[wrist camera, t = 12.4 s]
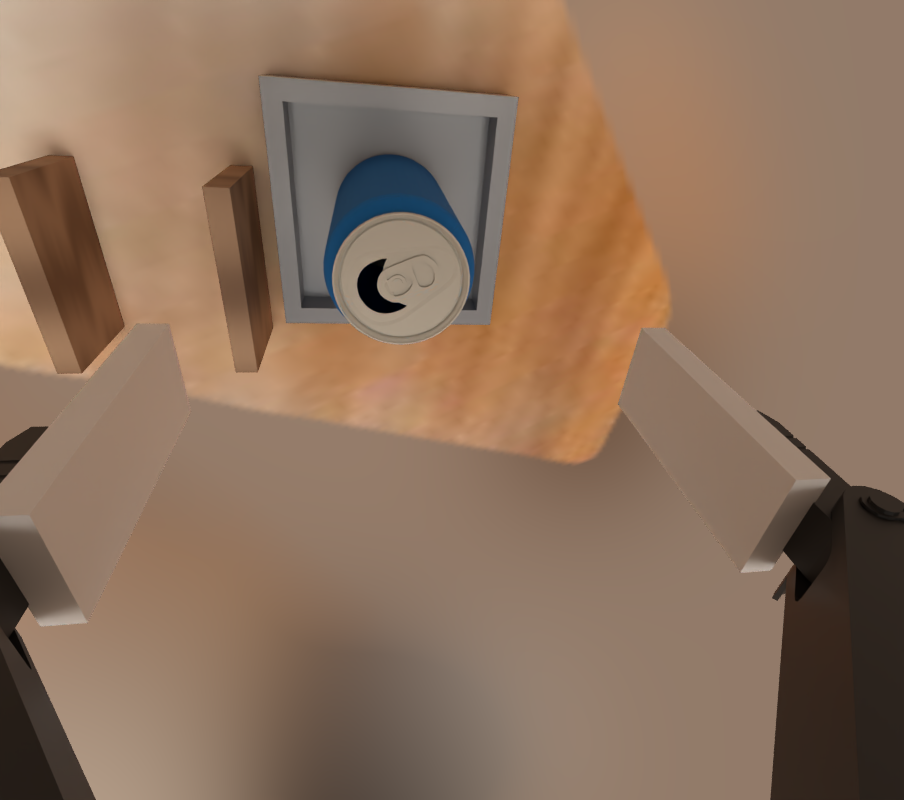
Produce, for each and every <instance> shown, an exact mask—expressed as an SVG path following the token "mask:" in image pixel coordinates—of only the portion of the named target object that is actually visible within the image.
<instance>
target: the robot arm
mask: <svg viewBox="0 0 904 800" xmlns="http://www.w3.org/2000/svg"><path fill="white" fill-rule="evenodd" d="M618 405H619V406H620V408H621V409H622V410H623V412H624V413H625V414H626V416H627V417H628V419H629V420H630V421H631V423H632V424H633V425H634V427H635V428H636V430H637V431H638V432H639V434H640V435H641V437H642V438H643V439H644V441H645V442H646V443H647V445H648V446H649V447H650V449H651V450H652V452H653V453H654V455H655V456H656V457H657V458H658V460H659V461H660V463H661V464H662V466H663V467H664V468H665V470H666V471H667V472H668V474H669V475H670V477H671V478H672V479H673V481H674V482H675V483H676V485H677V486H678V488H679V489H680V490H681V492H682V493H683V494H684V496H685V497H686V498H687V500H688V501H689V503H690V504H691V505H692V507H693V508H694V510H695V511H696V512H697V514H698V515H699V516H700V518H701V519H702V521H703V522H704V523H705V525H706V526H707V528H708V529H709V530H710V531H711V533H712V534H713V536H714V537H715V539H716V540H717V541H718V543H719V544H720V545H721V547H722V548H723V550H724V551H725V552H726V554H727V555H728V556H729V558H730V559H731V561H732V562H733V563H734V565H735V566H736V568H737V569H738V570H739V572H742V573H743V572H754V571H769V570H771V569H772V568H773V566H774V565H775V563H776V562H777V560H778V559H779V557H780V556H781V554H782V552H783V551H784V552H785V554H786V555H787V556H788V557H789V558H790V560H791V561H792V562H793V563H794V565H793V566H792V568H791V569H790V571H789V572H788V574H787V575H786V576H785V578H784V579H783V581H782V582H781V584H780V585H779V587H778V588H777V590H776V591H775V593H774V595H773V597H772V598H773V599H775V600H778V599H779V598H780V596H781V595H782V594H785V593H786V597H785V610H784V623H783V636H782V650H781V663H780V677H779V691H778V704H777V705H778V706H777V718H776V731H775V745H774V759H773V772H772V787H771V800H904V503H903V502H901V501H900V500H898V499H897V498H895V497H893V496H891V495H889V494H887V493H884V492H882V491H880V490H877V489H873V488H869V487H866V486H850V485H849V484H847V483H846V482H845V481H844V480H843V479H842V478H841V477H840V476H838V475H837V474H836V473H835V472H834V471H833V470H832V469H831V468H829V467H828V466H827V465H826V464H825V463H824V462H823V461H822V460H820V459H819V458H818V457H817V456H816V455H815V454H814V453H813V452H811V451H810V450H808V449H806V446H804V444H802V443H801V442H800V441H799V440H798V439H797V438H793V435H792V434H791V433H790V432H789V431H788V430H786V429H785V428H784V427H783V426H782V425H781V424H780V423H779V422H777V421H775V420H774V419H772V418H770V417H768V416H767V415H765V414H763V413H761V412H759V411H756V410H755V409H754V408H753V407H752V406H751V405H749V404H748V403H747V402H746V401H745V400H744V399H743V398H742V397H740V395H738V394H737V393H736V392H735V391H734V390H733V389H732V388H731V387H729V386H728V385H727V384H726V383H725V382H724V381H723V380H722V379H721V378H720V377H719V376H717V375H716V374H715V373H714V372H713V371H712V370H711V369H710V368H708V366H706V365H705V364H704V363H703V362H702V361H701V360H700V359H699V358H698V357H697V356H695V355H694V354H693V353H692V352H691V351H690V350H689V349H688V348H687V347H686V346H684V345H683V344H682V343H681V342H680V341H679V340H678V339H677V338H676V337H674V336H673V335H672V334H671V333H670V332H669V331H668V330H667V329H666V328H641V331H640V335H639V338H638V341H637V344H636V348H635V351H634V354H633V357H632V360H631V364H630V367H629V370H628V373H627V377H626V380H625V383H624V386H623V389H622V393H621V396H620V399H619V402H618ZM190 413H191V409H190V405H189V401H188V397H187V393H186V389H185V385H184V381H183V377H182V373H181V369H180V365H179V361H178V357H177V353H176V349H175V346H174V342H173V338H172V334H171V330H170V326H169V324H136V325H135V326H134V327H133V329H132V330H131V331H130V332H129V333H128V334H127V336H126V337H125V338H124V339H123V340H122V341H121V343H120V344H119V345H118V346H117V347H116V349H115V350H114V351H113V352H112V353H111V354H110V356H109V357H108V358H107V359H106V360H105V361H104V363H103V364H102V365H101V366H100V367H99V368H98V370H97V371H96V372H95V373H94V374H93V375H92V377H91V378H90V379H89V380H88V381H87V383H86V384H85V385H84V386H83V387H82V388H81V390H80V391H79V392H78V393H77V394H76V395H75V397H74V398H73V399H72V400H71V401H70V402H69V404H68V405H67V406H66V407H65V408H64V410H63V411H62V412H61V413H60V414H59V415H58V417H57V418H56V419H55V420H54V421H53V423H52V424H51V425H50V426H49V427H30V428H29V429H27V430H26V431H24V432H23V433H21V434H19V435H17V436H16V437H14V438H13V439H11V440H9V441H8V442H6V443H5V444H4V445H3V446H2V447H1V448H0V800H96V799H95V797H94V795H93V792H92V790H91V788H90V786H89V784H88V781H87V779H86V777H85V775H84V773H83V770H82V769H81V766H80V764H79V762H78V760H77V758H76V755H75V753H74V751H73V749H72V746H71V744H70V742H69V740H68V738H67V736H66V733H65V731H64V729H63V727H62V725H61V722H60V720H59V718H58V716H57V714H56V712H55V709H54V707H53V705H52V703H51V701H50V698H49V697H48V695H47V692H46V690H45V687H44V685H43V683H42V681H41V679H40V677H39V674H38V672H37V670H36V668H35V666H34V663H33V661H32V659H31V657H30V655H29V653H28V651H27V648H26V646H25V644H24V642H23V639H22V637H21V636H20V635H19V633H18V632H17V630H16V629H15V627H16V625H17V624H18V622H19V620H20V619H21V617H22V615H23V614H24V612H25V610H26V609H27V607H28V608H29V609H30V611H31V612H32V614H33V616H34V617H35V619H36V620H37V622H38V623H39V625H40V626H52V625H66V624H79V623H88V621H89V619H90V617H91V615H92V613H93V611H94V609H95V607H96V605H97V603H98V601H99V599H100V597H101V595H102V593H103V591H104V589H105V587H106V585H107V583H108V580H109V578H110V576H111V574H112V572H113V570H114V568H115V566H116V564H117V562H118V560H119V558H120V556H121V554H122V552H123V550H124V548H125V546H126V544H127V542H128V540H129V537H130V535H131V533H132V531H133V529H134V527H135V525H136V523H137V521H138V519H139V517H140V515H141V513H142V511H143V509H144V507H145V505H146V502H147V501H148V499H149V496H150V495H151V493H152V491H153V488H154V486H155V484H156V482H157V480H158V478H159V476H160V474H161V472H162V470H163V468H164V466H165V464H166V462H167V460H168V458H169V456H170V454H171V452H172V450H173V447H174V445H175V444H176V441H177V439H178V437H179V435H180V433H181V431H182V429H183V427H184V425H185V423H186V421H187V419H188V417H189V415H190Z"/></svg>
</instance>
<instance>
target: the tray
mask: <svg viewBox="0 0 904 800" xmlns="http://www.w3.org/2000/svg"><path fill="white" fill-rule="evenodd" d="M259 85H260V94H261V103H262V112H263V120H264V129H265V138H266V147H267V156H268V165H269V174H270V183H271V192H272V201H273V210H274V219H275V228H276V237H277V246H278V255H279V264H280V273H281V282H282V290H283V299H284V308H285V317H286V323H349V322H348V320H347V319H346V318H345V317H344V316H343V315H342V314H341V313H340V312H339V310H338V309H337V308H336V306H335V304H334V303H333V301H332V299H331V297H330V295H329V292H328V290H327V287H326V283H325V279H324V272H323V260H324V253H325V248H326V243H327V239H328V234H329V230H330V225H331V220H332V216H333V211H334V207H335V202H336V198H337V194H338V190H339V188H340V186H341V183H342V182H343V180H344V178H345V177H346V176H347V174H348V173H349V172H350V171H351V170H352V169H353V168H354V167H355V166H356V165H358V164H359V163H361V162H362V161H364V160H366V159H368V158H371V157H374V156H378V155H384V154H393V155H400V156H404V157H407V158H409V159H412V160H414V161H416V162H417V163H419V164H421V165H422V166H423V167H424V168H426V169H427V170H428V171H429V172H430V173H431V174H432V176H433V177H434V178H435V180H436V181H437V183H438V185H439V186H440V188H441V190H442V192H443V193H444V195H445V197H446V199H447V200H448V202H449V204H450V206H451V208H452V209H453V211H454V213H455V215H456V216H457V218H458V220H459V222H460V223H461V225H462V227H463V229H464V231H465V232H466V234H467V236H468V238H469V241H470V243H471V246H472V250H473V255H474V264H475V267H474V279H473V284H472V288H471V291H470V294H469V296H468V298H467V301H466V302H465V304H464V306H463V309H462V310H461V312H460V313H459V315H458V316H457V318H456V319H455V320H454V321H453V322H452V323H451V324H465V325H490V320H491V312H492V304H493V296H494V288H495V280H496V272H497V264H498V256H499V248H500V241H501V233H502V225H503V217H504V209H505V201H506V193H507V185H508V177H509V169H510V161H511V153H512V145H513V137H514V129H515V121H516V114H517V106H518V98H519V97H516V96H511V95H505V94H493V93H481V92H469V91H457V90H445V89H433V88H421V87H409V86H397V85H385V84H373V83H361V82H349V81H337V80H325V79H313V78H301V77H289V76H277V75H259ZM349 324H350V323H349Z"/></svg>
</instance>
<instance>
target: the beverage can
mask: <svg viewBox="0 0 904 800" xmlns="http://www.w3.org/2000/svg"><path fill="white" fill-rule="evenodd" d="M474 267H475V264H474V255H473V250H472V246H471V243H470V241H469V238H468V236H467V234H466V232H465V231H464V229H463V227H462V225H461V223H460V222H459V220H458V218H457V216H456V215H455V213H454V211H453V209H452V208H451V206H450V204H449V202H448V200H447V199H446V197H445V195H444V193H443V192H442V190H441V188H440V186H439V185H438V183H437V181H436V180H435V178H434V177H433V176H432V174H431V173H430V172H429V171H428V170H427V169H426V168H424V167H423V166H422V165H421V164H419V163H417V162H416V161H414V160H412V159H409V158H407V157H404V156H400V155H393V154H384V155H378V156H374V157H371V158H368V159H366V160H364V161H362V162H361V163H359V164H358V165H356V166H355V167H354V168H353V169H352V170H351V171H350V172H349V173H348V174H347V176H346V177H345V178H344V180H343V182H342V183H341V186H340V188H339V190H338V194H337V198H336V202H335V207H334V211H333V216H332V220H331V225H330V230H329V234H328V239H327V243H326V248H325V253H324V260H323V272H324V279H325V283H326V287H327V290H328V292H329V295H330V297H331V299H332V301H333V303H334V304H335V306H336V308H337V309H338V310H339V312H340V313H341V314H342V315H343V316H344V317H345V318H346V319H347V320H348V322H349V323H350V324H351V325H352V326H354V327H355V328H356V329H357V330H358V331H360V332H361V333H363V334H364V335H366V336H368V337H370V338H372V339H374V340H377V341H380V342H384V343H389V344H399V345H403V344H413V343H418V342H421V341H425V340H427V339H430V338H432V337H434V336H436V335H437V334H439V333H441V332H442V331H443V330H445V329H446V328H447V327H448V326H449V325H450V324H451V323H452V322H453V321H454V320H455V319H456V318H457V316H458V315H459V313H460V312H461V310H462V309H463V306H464V304H465V302H466V301H467V298H468V296H469V294H470V291H471V288H472V284H473V279H474Z"/></svg>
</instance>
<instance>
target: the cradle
mask: <svg viewBox="0 0 904 800" xmlns="http://www.w3.org/2000/svg"><path fill="white" fill-rule="evenodd" d="M202 189H203V194H204V200H205V205H206V211H207V216H208V222H209V228H210V233H211V239H212V244H213V250H214V255H215V261H216V266H217V272H218V277H219V283H220V288H221V294H222V299H223V305H224V310H225V316H226V321H227V327H228V333H229V338H230V344H231V349H232V355H233V360H234V366H235V371H236V372H258V370H259V367H260V364H261V361H262V358H263V355H264V352H265V350H266V347H267V344H268V341H269V338H270V335H271V332H272V329H273V323H272V315H271V307H270V299H269V291H268V284H267V276H266V268H265V260H264V252H263V244H262V237H261V229H260V221H259V213H258V205H257V197H256V190H255V182H254V174H253V167H252V166H234V165H230V166H229V167H227V168H226V169H225V170H223V171H222V172H221V173H219V174H218V175H217V176H216V177H214V178H213V179H212V180H210V181H209V182H208V183H206V184H205V185H204V186H202ZM0 232H1V234H2V237H3V239H4V242H5V244H6V247H7V249H8V252H9V254H10V257H11V259H12V262H13V264H14V267H15V269H16V272H17V274H18V277H19V279H20V282H21V284H22V287H23V289H24V292H25V294H26V297H27V299H28V302H29V304H30V307H31V309H32V312H33V314H34V317H35V319H36V322H37V324H38V327H39V329H40V331H41V334H42V336H43V339H44V341H45V344H46V346H47V349H48V351H49V354H50V356H51V359H52V361H53V364H54V366H55V369H56V371H57V374H67V373H83V371H84V370H85V369H86V368H87V367H88V366H89V365H90V364H91V363H92V362H93V360H94V359H95V358H96V357H97V356H98V355H99V354H100V353H101V352H102V351H103V350H104V348H105V347H106V346H107V345H108V344H109V343H110V342H111V341H112V340H113V339H114V337H115V336H116V335H117V334H118V333H119V332H120V331H121V330H122V329H123V328H124V323H123V320H122V317H121V313H120V310H119V307H118V303H117V300H116V297H115V293H114V290H113V287H112V284H111V280H110V277H109V274H108V270H107V267H106V264H105V260H104V257H103V254H102V250H101V247H100V244H99V240H98V237H97V234H96V230H95V227H94V224H93V220H92V217H91V214H90V211H89V207H88V204H87V201H86V197H85V194H84V191H83V187H82V184H81V181H80V177H79V174H78V171H77V167H76V164H75V161H74V157H71V156H53V155H48V156H44V157H41V158H37V159H34V160H30V161H27V162H24V163H20V164H17V165H13V166H10V167H7V168H3V169H0Z"/></svg>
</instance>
